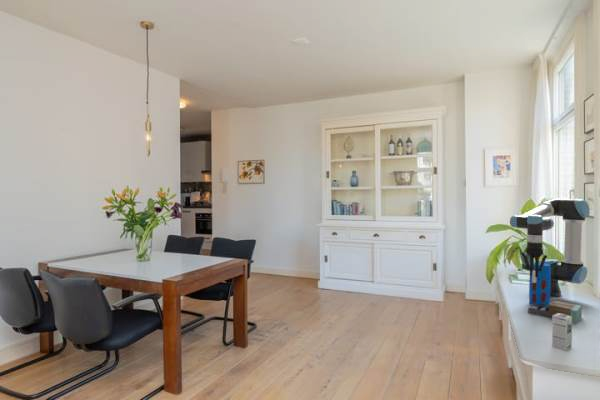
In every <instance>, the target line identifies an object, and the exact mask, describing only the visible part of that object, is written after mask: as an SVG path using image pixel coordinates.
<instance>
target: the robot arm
mask: <svg viewBox="0 0 600 400" xmlns="http://www.w3.org/2000/svg"><path fill="white" fill-rule="evenodd" d="M552 216H553V217H554V216H555V217H562V220H563V221H564V224H565V225H564V227H565V228H564V246H563V247H564V248H563V249H564V250H563V251H564V252H563V259H562V260H559V259H549V258H548V254H545V253H544V251H543V245H544V244H543V239H544V238H543V235H544V234H543V233H544V232H543V231H549V230H551V229H553V228H554V224H555V223H554V220H553V219H552V218H551V217H552ZM589 216H590V206H589V203H588V201H587V200H585V199H580V198H554V199H550V200H547V201H544V202H542V203H540V204H538V207H535V208H533V209H531V210H529V211H528V212H527V211H526V212H525V213H523V214H521V215H512V216H510V219H509V225H510V227H512V228H515V229H523V230H524V229H525V230H526V231H527V233H526V235H527V236H526V241H527V242H526V250H525V251H524V252H521V255H522V256H523V260H524V264H525V269H526V270H528V271H529V277H530V276H532V283H536V277H538V272H539V271H542V269H543V266H544V263H546V264H550V265H551V283H550V297H561V296H562V290H561V287H560V285H559V282H560V281H561V282H565V283H571V284H577V285H580V284H583V283H584V282H585V280H586V279H587V277H588V276H587V275H588V268H587V266H585V265H584V262H583V261H582V259H581V258H582V256H581V255H582V235H583V234H582V232H583V231H582V230H583V229H582V228H583V223H584V222H585V221H586V219H587V218H589ZM528 256H529V259H528ZM540 257H542V258H541V259H540ZM534 262H535V271H533V270H534ZM539 263H541V264H540V268H539Z"/></svg>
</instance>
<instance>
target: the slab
mask: <svg viewBox="0 0 600 400" xmlns="http://www.w3.org/2000/svg"><path fill="white" fill-rule="evenodd" d="M575 305H576V304H575V303H570V302H563V301H559V300H553V301H551V302H550V304H549V308H548V312H550V313H555V314H557V313H561V314H566V315H569V316H571V309H572V308H573V307H574V306H575Z"/></svg>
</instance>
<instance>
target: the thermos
mask: <svg viewBox="0 0 600 400" xmlns="http://www.w3.org/2000/svg"><path fill="white" fill-rule="evenodd" d="M540 264H541V263H539V268H540ZM533 271H535V261H534V270H533ZM550 283H551V265H550V264H546V263H544V266H543V269H542V271H539V272H538V277H536V283H532V276H530V275H529V284H528V285H529V288H528V289H529V291H528V292H529V293H528V297H529V298H528V304H529V305H532V306H533V304H539V305H544V306H549V304H550V303H551V296H550Z"/></svg>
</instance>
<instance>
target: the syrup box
mask: <svg viewBox="0 0 600 400" xmlns="http://www.w3.org/2000/svg"><path fill="white" fill-rule="evenodd" d="M551 319H552V323H551V324H552V326H551V327H552V328H551V329H552V332H551V333H552V334H551V335H552V336H551V337H552V339H551V342H552V343H551V346H552V347H553V348H555V349H558V350H561V351H566V352H568V351H569V350H571V349H572V343H573V342H572V338H573V337H572V335H573V333H572V330H573V328H572V326H573V325H572V324H573V323H572V316H569V315H566V314H561V313H557V314H555V315H553V316H552V318H551Z"/></svg>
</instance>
